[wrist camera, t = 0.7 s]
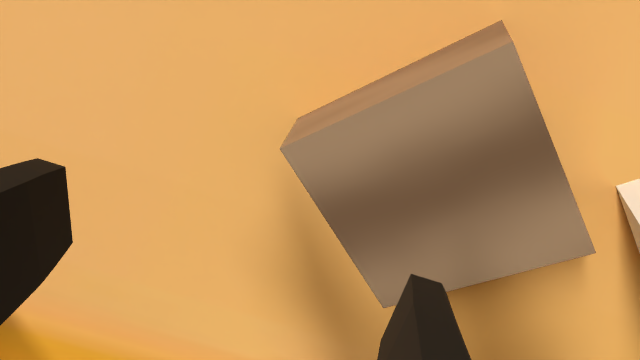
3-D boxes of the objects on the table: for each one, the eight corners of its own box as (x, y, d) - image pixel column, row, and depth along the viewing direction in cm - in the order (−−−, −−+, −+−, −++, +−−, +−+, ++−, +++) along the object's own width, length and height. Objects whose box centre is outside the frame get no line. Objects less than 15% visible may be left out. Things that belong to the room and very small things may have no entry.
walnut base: (573, 204, 18) (596, 253, 16) (389, 260, 22) (383, 308, 19) (500, 17, 16) (512, 41, 13) (300, 114, 19) (279, 148, 16)
